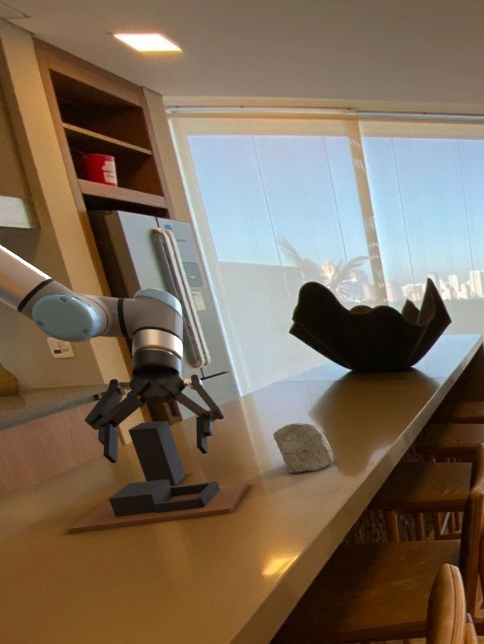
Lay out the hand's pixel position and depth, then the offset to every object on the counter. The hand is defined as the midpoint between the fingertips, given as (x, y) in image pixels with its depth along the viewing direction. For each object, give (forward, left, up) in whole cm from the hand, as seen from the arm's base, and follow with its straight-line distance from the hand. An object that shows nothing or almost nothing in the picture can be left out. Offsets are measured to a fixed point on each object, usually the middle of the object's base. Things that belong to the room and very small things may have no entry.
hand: (157, 454), depth 102 cm
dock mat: (+11, -11, -6) cm, 17 cm away
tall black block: (-1, +1, -6) cm, 6 cm away
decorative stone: (+19, +13, -6) cm, 24 cm away
